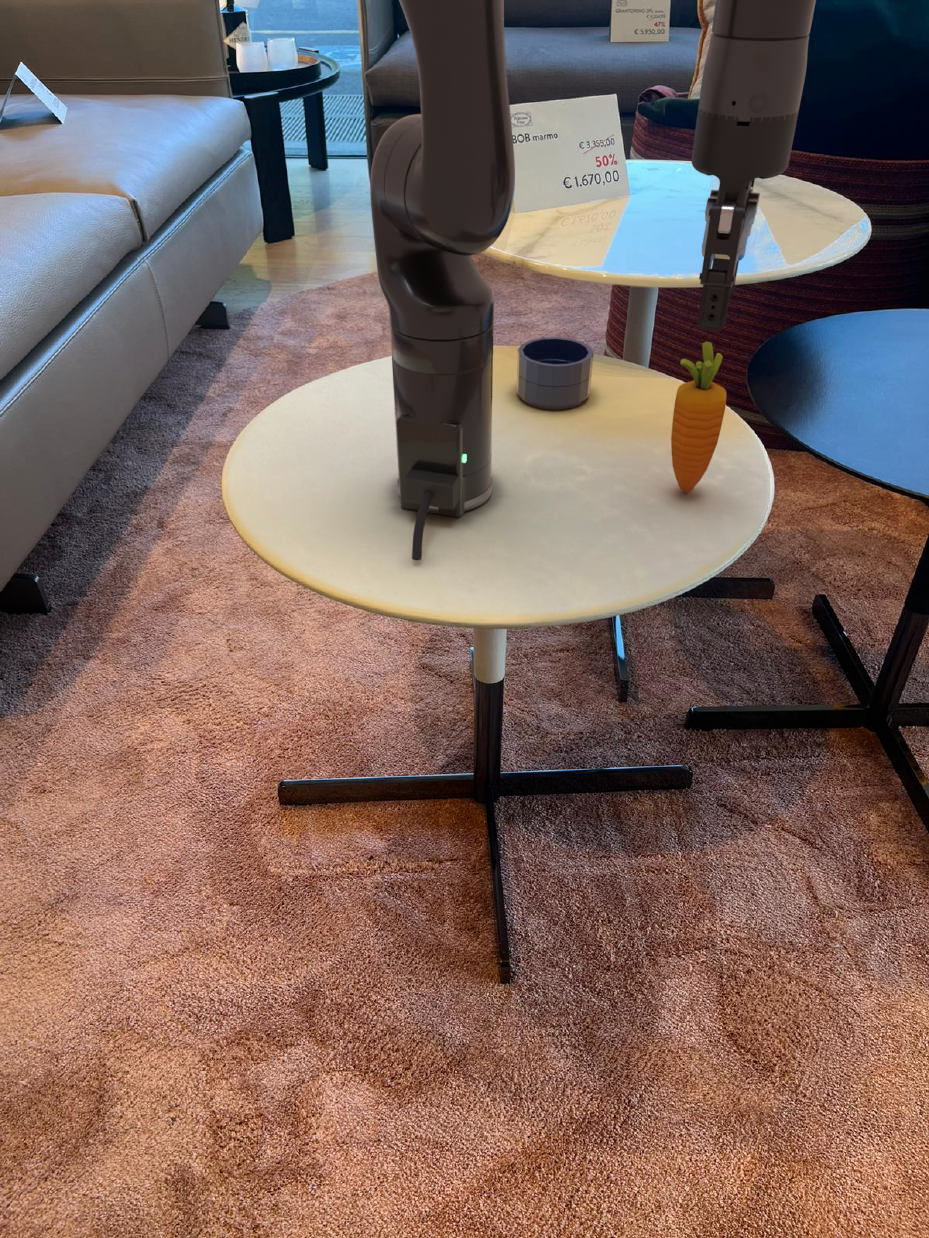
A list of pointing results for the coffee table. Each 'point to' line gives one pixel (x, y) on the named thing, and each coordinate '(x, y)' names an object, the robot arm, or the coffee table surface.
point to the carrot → (697, 420)
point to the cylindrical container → (554, 372)
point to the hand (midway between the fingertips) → (715, 311)
